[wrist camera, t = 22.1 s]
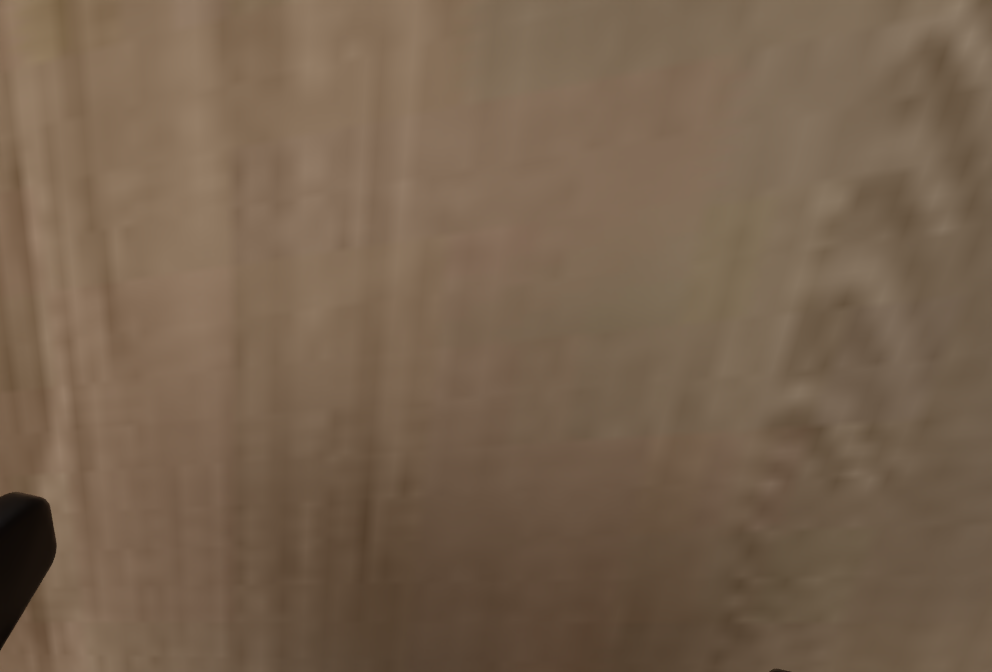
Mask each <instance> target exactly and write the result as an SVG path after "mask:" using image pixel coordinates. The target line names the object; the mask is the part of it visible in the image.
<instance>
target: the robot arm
mask: <svg viewBox="0 0 992 672" xmlns="http://www.w3.org/2000/svg"><path fill="white" fill-rule="evenodd" d="M55 554H56V538H55V532H54V526H53V520H52V514H51V509H50V505H49V503H48V502H47V501H46V499H44V498H42V497H38V496H33V495H29V494H25V493H20V492H12V493H9V494H6V495H3V496H1V497H0V650H1V648H2V647H3V645H4V643H5V642H6V640H7V638H8V637H9V635H10V633H11V632H12V630H13V628H14V627H15V625H16V623H17V622H18V620H19V618H20V617H21V615H22V613H23V612H24V610H25V608H26V607H27V605H28V603H29V602H30V600H31V598H32V597H33V595H34V593H35V592H36V590H37V588H38V587H39V585H40V583H41V582H42V580H43V578H44V577H45V575H46V573H47V572H48V570H49V568H50V567H51V565H52V563H53V560H54V558H55ZM770 672H790V671H785V670H781V669H773V670H771V671H770Z"/></svg>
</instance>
